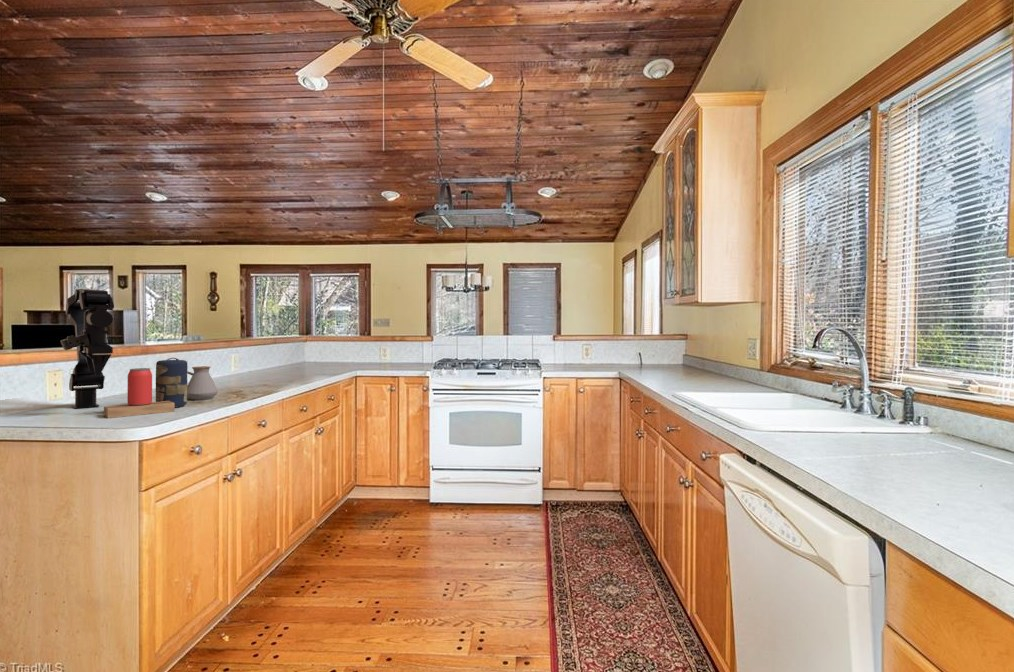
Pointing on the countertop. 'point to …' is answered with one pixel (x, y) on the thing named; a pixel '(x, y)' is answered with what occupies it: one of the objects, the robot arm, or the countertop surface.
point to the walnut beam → (138, 409)
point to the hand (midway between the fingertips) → (94, 374)
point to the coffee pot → (201, 384)
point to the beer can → (139, 387)
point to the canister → (171, 381)
